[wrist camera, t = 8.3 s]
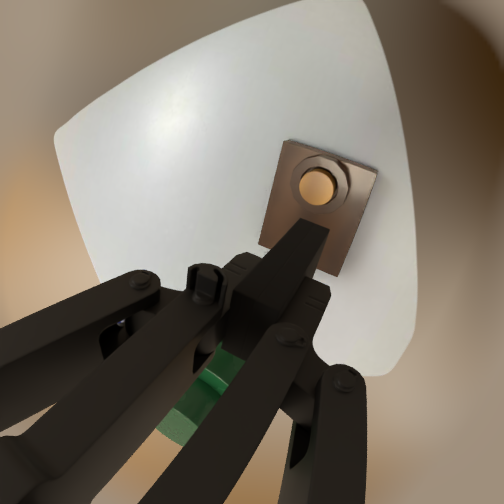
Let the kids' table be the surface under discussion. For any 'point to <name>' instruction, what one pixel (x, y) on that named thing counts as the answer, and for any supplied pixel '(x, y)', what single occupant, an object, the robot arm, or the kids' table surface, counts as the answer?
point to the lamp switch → (317, 186)
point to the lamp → (200, 397)
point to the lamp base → (327, 215)
